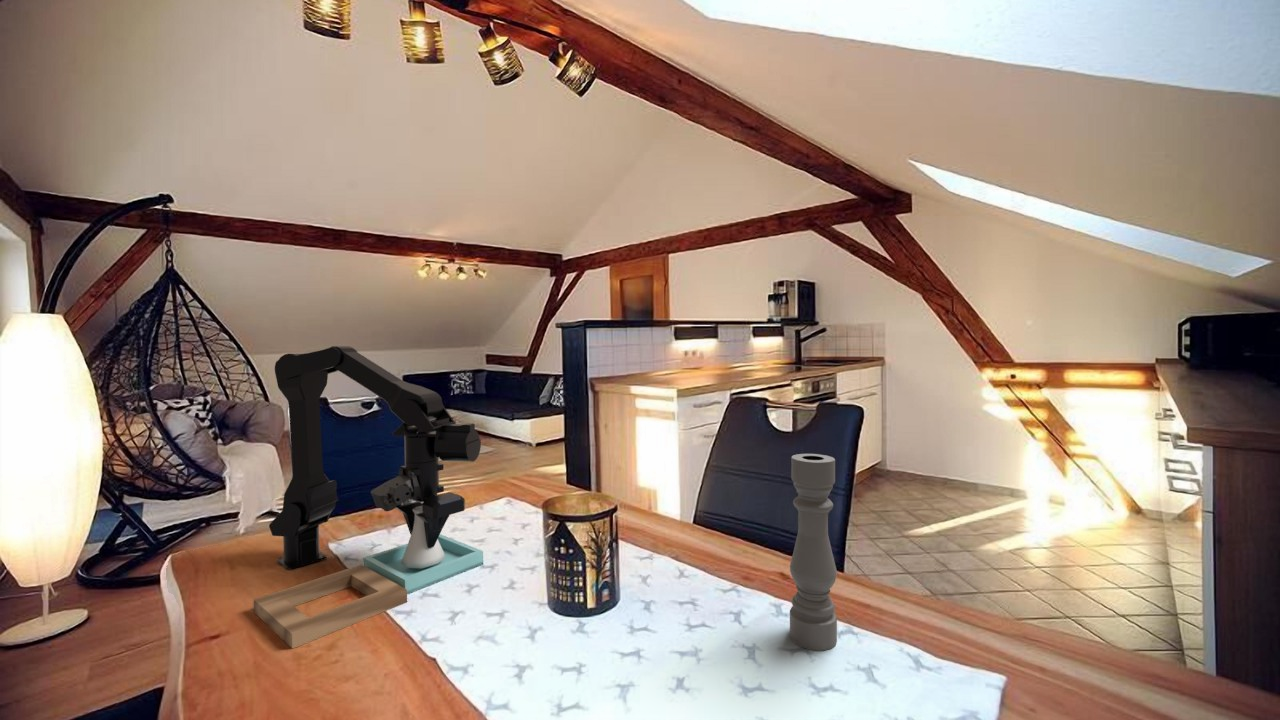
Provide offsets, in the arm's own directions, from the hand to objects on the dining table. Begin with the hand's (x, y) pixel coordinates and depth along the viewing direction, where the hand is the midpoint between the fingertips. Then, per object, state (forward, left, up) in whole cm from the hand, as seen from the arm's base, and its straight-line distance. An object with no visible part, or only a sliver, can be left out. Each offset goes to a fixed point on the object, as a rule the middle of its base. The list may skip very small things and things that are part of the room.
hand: (423, 543), depth 95 cm
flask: (0, 0, -4) cm, 4 cm away
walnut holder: (+2, -16, -4) cm, 17 cm away
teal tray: (0, 0, -4) cm, 4 cm away
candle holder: (+65, +21, -5) cm, 68 cm away
